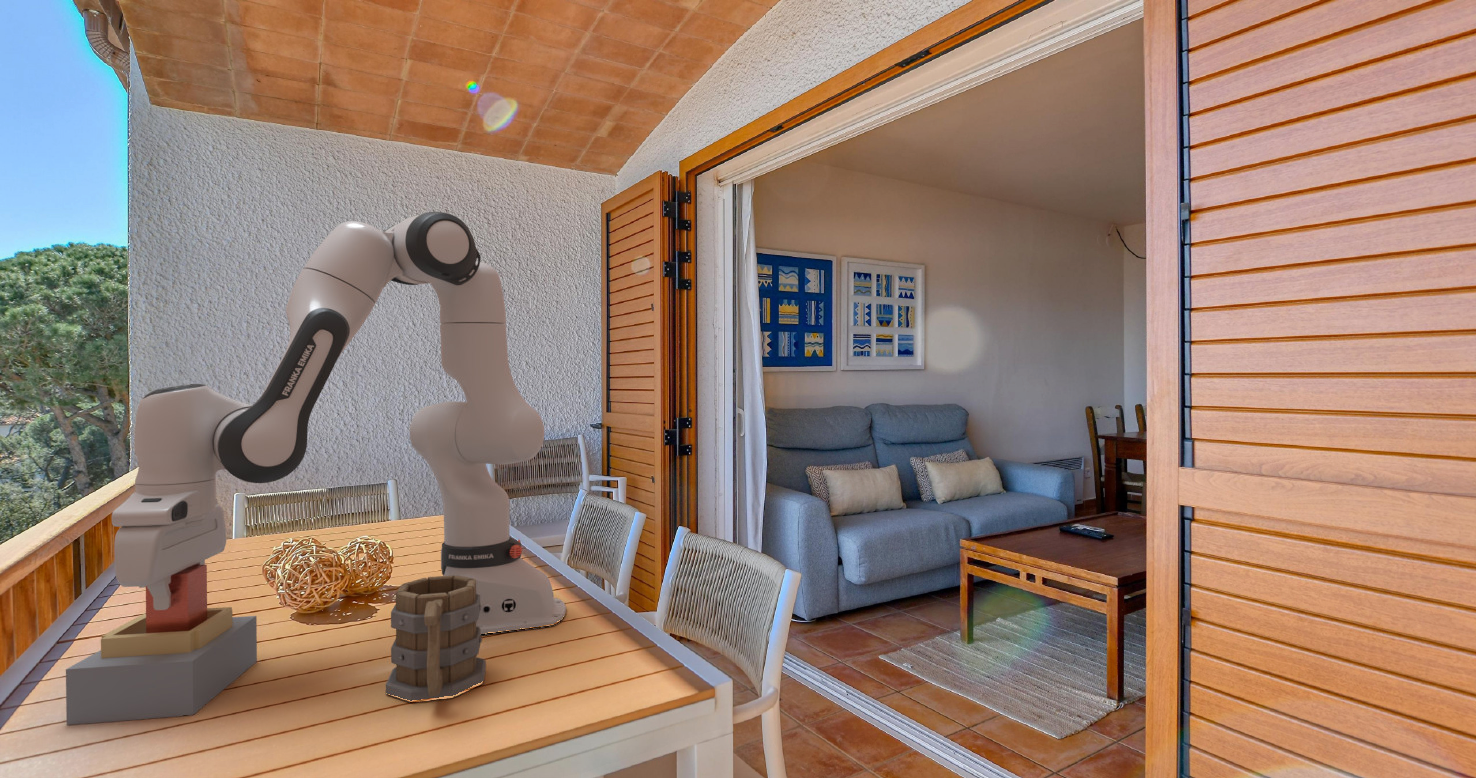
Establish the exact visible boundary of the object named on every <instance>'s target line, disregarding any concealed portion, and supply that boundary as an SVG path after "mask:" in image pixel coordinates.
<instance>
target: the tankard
mask: <svg viewBox="0 0 1476 778" xmlns="http://www.w3.org/2000/svg"><path fill="white" fill-rule="evenodd" d="M481 609H482V606H481V605H480V595H479V594H476V580H475V579H473V578H468V577H463V576H458V575H456V576H455V575H451V576H443V575H438V576H428V577H422V578H419V579H416V580H412V581H408V582H404V583H402V584H401V585H400V586H399V588H398V590H397V591H396V592H395V605H394V606H393V608H392V609H391V611H390V628H392V629H394V630H395V640H394V641H393V642H392V646H391V648H390V656H391V658H390V659H391V661H390V662H391V664H393V665H395V667H394V668H393V669H392V670H391V673H390V674H389V676H388V679H387V681H386V683H385V694H386V693H387V694H390V695H394V696H398V697H400V698H403V699H407V700H410V701H412V700H421V699H429V698H439V697H444V696H453V695H456V694H458V693H459V692H462V691H464V690H465V689H468V688H470V687H472V686H473V685H476V684H478V683H481V682H482V681H484V682H485V677H484V675H485V676H486V671H485V669H486V668H487V665H486V664H487V660H485V659H484V658H481V657H478V655H479V653H480V647H481V643H482V642H483V638H482V635H481V628H479V627H476V621H477V620H478V619H479V614H480V610H481ZM486 670H487V669H486ZM387 694H386V695H387Z"/></svg>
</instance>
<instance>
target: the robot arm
mask: <svg viewBox="0 0 1476 778" xmlns="http://www.w3.org/2000/svg"><path fill="white" fill-rule="evenodd" d="M481 259H482V257H481V254H480V253H479V250H478V249H477V247H476V242H475V239H474V237H473V235H472V232H471V229H469V227H468V225H466V224H465V222H464V221H463V220H462V219H460V218H459V217H458V216H456V215H453V214H451V213H448V212H443V211H427V212H424V213H421V214H418V215H413V216H410V217H407V218H404V219H403V220H402V221H400V222H399V223H397V224H394V225H393V226H390V227H388V228H385V229H384V230H380V229H378V228H377V227H376V226H373V225H371V224H370V223H369V224H368V223H366V222H363V221H356V220H348V221H344V222H342V223H340V224H338V225H337V226H335V227H334V228H333V229H332V230H331V232H330V233H328V235H327V236H326V237H325V238H324V239H323V241H322V242H320V244H319V245H318V247H317V248H316V249H315V250H314V252H313V253H312V254H311V255H310V257H309V259H308V260H307V262H306V263H305V265H304V267H303V268H302V270H301V271H300V273H299V275H298V277H297V278H296V281H295V283H294V285H293V287H292V290H291V292H290V295H289V297H288V301H287V304H286V308H285V312H286V314H285V315H286V317H287V320H288V325H289V331H290V332H289V334H290V335H289V341H288V344H287V347H286V348H285V349H286V350H285V352H284V353H283V355H282V356H281V357H282V358H281V359H280V361H279V363H278V365H277V366H276V369H275V370H274V371H273V374H272V376H271V378H270V379H269V381H268V383H267V385H266V387H265V388H264V390H263V392H262V393H261V396H260V397H259V399H257V401H256V402H255V403H253V405H252V404H250V403H249V404H248V403H245V402H242V401H240V400H236V399H234V398H231V397H228V396H227V395H224V394H222V393H220V392H218V391H216V390H214V389H212V388H210V387H209V386H208V385H206V384H202V383H190V384H182V385H175V386H169V387H163V388H157V389H155V390H151V391H150V392H149V393H147V394H146V395H144V397H142V398H141V400H140V401H139V403H138V406H137V411H136V416H135V425H134V426H135V427H134V453H135V456H136V458H137V461H138V462H137V463H138V469H137V470H138V471H137V473H136V474H137V475H136V477H135V480H134V487H135V488H134V489H135V491H134V492H133V493H131V494H130V496H129V497H128V498H127V499H126V500H125V501H123V502H122V503H121V504H120V505H118V506H117V507H116V508H115V509H114V510H113V511H112V512H111V525H112V526H113V527H120V528H119V529H118V530H117V531H116V533H115V537H114V545H113V546H114V573H115V578H116V580H117V582H118V583H119V585H120V586H121V587H124V588H127V587H128V588H130V587H131V588H132V587H133V588H134V587H135V588H137V587H138V586H147V588H148V590H149V591H150V593H151V595H152V597H153V606H154V609H155V610H166V609H168V608H170V607H172V606H173V605H174V602H175V601H174V593H173V594H171V592H170V589H169V585H168V584H169V583H171V575H173V574H176V573H178V572H180V571H182V570H184V569H186V568H188V567H191V566H193V565H206V560H208V559H210V558H212V557H214V556H217V555H219V554H220V553H223V552H224V551H225V548H226V545H227V532H226V531H227V529H226V520H225V513H224V510H223V508H222V505H219V504H218V503H219V501H218V499H217V497H216V496H217V491H216V490H217V489H216V486H217V484H216V482H217V481H216V479H217V478H216V475H217V472H218V471H221V470H226V471H227V472H228V473H229V474H230V475H232V476H233V477H235V478H237V480H238V479H239V480H241V481H242V482H247V483H251V484H268V483H272V482H273V483H274V482H275V481H279V480H281V479H284V478H285V477H287V476H288V475H291V473H293V472H294V471H295V470H296V469H297V468H298V467H299V466H300V464H301V463H302V461H303V460H304V457H305V456H306V452H307V446H308V429H309V428H308V427H309V426H308V425H309V420H310V417H311V413H312V411H313V410H314V407H315V405H316V403H317V400H318V399H319V397H320V395H321V393H322V391H323V389H324V387H325V385H326V383H327V382H328V380H329V379H328V378H329V377H330V375H331V373H332V371H333V369H334V368H335V365H336V363H337V361H338V359H339V357H340V356H341V354H342V353H343V352H344V350H345V349H346V347H348V345H349V344H350V343H351V341H352V340H353V338H354V337H355V335H357V333H358V332H359V330H360V329H361V328H362V326H363V325H364V324H365V322H366V320H367V319H368V317H369V316H370V314H371V312H372V311H373V309H374V307H375V305H376V303H377V301H378V300H379V298H380V296H381V293H382V292H383V289H384V288H385V287H386V286H387V285H388V283H390V282H391V281H392V282H394V283H398V284H402V285H407V286H418V285H425V284H430V286H431V287H432V289H433V290H434V292H435V294H436V296H437V299H438V302H439V303H438V304H439V306H440V307H439V323H440V324H439V328H440V329H439V331H440V332H439V334H440V356H441V357H440V358H441V359H440V362H441V363H440V364H441V365H442V366H441V367H442V369H443V371H444V372H445V373H446V374H447V375H448V376H449V377H450V378H452V379H453V380H455V381H456V382H457V383H458V384H459V385H460V387H461V390H462V392H463V393H464V395H465V399H466V401H443V402H438V403H433V404H431V405H426V406H423V407H421V408H420V409H419V410H418V411H417V412H415V414H414V416H413V417H412V419H411V421H410V422H411V423H410V427H409V439H410V444H411V445H412V448H413V449H414V450H415V452H416V453H417V454H419V455H420V456H421V457H422V458H423V459H424V460H425V462H427V464H428V466H429V468H430V469H431V471H432V473H433V475H434V477H435V480H436V482H437V485H438V488H439V492H440V495H441V499H442V508H443V510H442V511H443V529H444V530H443V536H444V537H443V539H444V541H443V542H442V543H441V549H440V568H441V574H442V576H451V575H455V576H456V575H458V576H463V577H468V578H473V579H475V580H476V594H479V595H480V605H481V606H482V609H481V610H480V614H479V619H478V620H477V621H476V627H479V628H481V634H485V633H488V632H498V631H506V630H516V629H520V628H521V629H522V628H530V627H539V626H543V625H549V624H554V623H556V622H557V621H559V620H561V619H562V618H563V616H564V615H565V612H566V613H567V610H566V603H565V602H564V601H563V600H562V599H559V598H556V597H555V596H554V591H553V586H552V583H551V580H550V579H549V577H548V575H546V574H545V572H542V570H539V569H538V568H536V567H535V566H533V565H532V564H530V563H529V562H528V561H526V560H525V559H523V558H522V553H523V548H522V543H521V540H520V539H518V540H517V539H515V538H513V537H511V536H510V498H509V495H508V493H507V492H506V490H505V489H504V488H502V487H501V486H500V484H499V485H498V483H496V482H495V481H494V479H493V478H492V476H491V474H490V472H489V470H488V466H487V465H489V464H490V465H502V466H503V465H505V466H506V465H511V464H517V463H521V462H527V461H528V462H529V461H530V460H532V459H533V458H535V457H536V456H537V455H538V453H539V452H540V450H541V449H542V447H543V444H544V440H545V425H544V422H543V419H542V417H541V416H540V414H539V412H538V411H537V410H536V409H535V408H533V407H532V406H531V405H530V404H529V403H528V402H527V401H526V400H525V399H524V398H523V396H522V395H521V393H520V392H519V390H518V387H517V386H516V384H515V382H514V379H513V376H512V373H511V369H510V364H509V363H510V362H509V355H508V353H509V352H508V341H507V340H508V339H507V320H506V319H507V317H506V304H505V296H504V292H503V286H502V283H501V279H500V275H499V273H498V271H497V270H496V269H495V268H494V267H493V266H491V265H490V264H488V263H485V262H483V261H482V260H481ZM565 616H566V615H565ZM485 635H486V634H485Z"/></svg>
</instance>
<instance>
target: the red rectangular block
mask: <svg viewBox="0 0 1476 778" xmlns="http://www.w3.org/2000/svg"><path fill="white" fill-rule="evenodd" d="M207 565H208V564H205V565H193V566H191V567H188V568H186V569H184V570H182V571H180V572H178V573H176V574H173V575H171V583H169V584H168V585H169V589H170V592H171V594H173V593H174V601H175V602H174V605H173V606H172V607H170V608H168V609H166V610H155V609H154V606H153V597H152V595H151V593H150V591H149V590H148V588H147V586H137V587H138V588H139V589H141V588H145V613H146V633H162V632H179V631H190V630H192V629H193V628H195V627H196V626H198V625H200V624H201V623H203V622H204V621H206V620H207V608H208V566H207Z"/></svg>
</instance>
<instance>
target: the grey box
mask: <svg viewBox="0 0 1476 778" xmlns="http://www.w3.org/2000/svg"><path fill="white" fill-rule="evenodd" d="M257 625H258V623H257V615H250V616H249V615H247V616H233V607H232V606H228V607H227V606H226V607H225V606H223V607H209V608H208V607H207V620H206V621H204V622H203V623H201V624H200V625H198V626H196V627H195V628H193V629H192V630H190V631H179V632H162V633H146V614H145V613H143V614H141V615H139V616H137V617H135V618H133V619H131V620H130V621H127V622H125V623H123V624H122V625H120V626H118V627H116V628H114V629H113V630H110V631H108V632H107V633H104V634H103V635H101V639H100V650H98V651H97V652H95V653H93V654H91V655H89V656H87V657H85V658H83V659H82V660H80V661H79V662H76V663H74V664H72V665H71V666H69V667H67V668H66V669H65V696H66V698H65V702H66V704H65V705H66V707H65V709H66V710H65V711H66V726H71V725H72V726H74V725H75V726H76V725H85V724H98V723H99V724H100V723H111V722H113V723H114V722H123V721H136V720H151V719H160V718H161V719H162V718H174V717H176V718H177V717H184V716H183V715H189V716H194V715H196V713H197V712H199V711H200V710H201V709H202V708H203V707H205V706H206V705H207V704H208V703H209V702H210V700H211V701H212V700H213V699H214V698H216V697H217V695H219V694H220V693H221V692H223V691H224V690H225V689H226V688H228V687H229V686H230V685H231V684H232V683H233V682H235V681H236V680H237V679H238V678H239V677H240V676H241V675H243V674H245V672H246V671H247V670H249V669H250V668H251V667H252V666H254V665H255V664H256V663H257V662H258V641H257V640H258V639H257V638H258V636H257V635H258V634H257V633H258V632H257V631H258V630H257V629H258V628H257ZM205 704H206V705H205ZM199 709H200V710H199ZM198 710H199V711H198ZM193 714H194V715H193ZM150 718H151V719H150Z"/></svg>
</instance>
